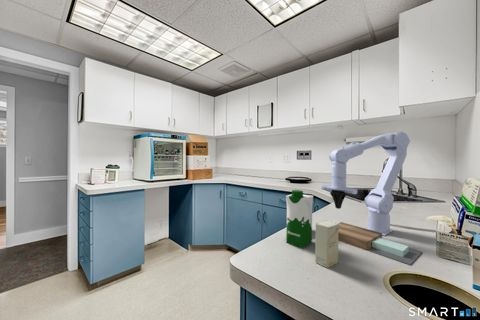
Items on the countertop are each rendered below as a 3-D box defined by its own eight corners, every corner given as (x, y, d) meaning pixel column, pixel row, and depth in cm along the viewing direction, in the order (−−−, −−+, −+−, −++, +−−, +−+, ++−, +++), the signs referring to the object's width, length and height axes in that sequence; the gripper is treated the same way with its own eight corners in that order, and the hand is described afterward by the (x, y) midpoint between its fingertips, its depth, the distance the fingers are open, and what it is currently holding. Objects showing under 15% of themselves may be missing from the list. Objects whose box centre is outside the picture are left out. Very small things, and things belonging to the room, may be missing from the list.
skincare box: (327, 268, 59) (328, 227, 59) (314, 262, 63) (314, 223, 63) (338, 262, 63) (339, 223, 63) (325, 256, 67) (326, 219, 66)
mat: (384, 241, 79) (384, 240, 79) (422, 252, 70) (422, 251, 70) (369, 251, 70) (369, 250, 70) (410, 265, 61) (410, 264, 61)
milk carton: (282, 242, 77) (283, 190, 76) (294, 236, 83) (295, 187, 83) (304, 250, 71) (305, 193, 70) (315, 242, 77) (316, 190, 77)
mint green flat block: (378, 242, 77) (378, 237, 77) (408, 252, 69) (408, 246, 69) (372, 246, 73) (372, 241, 73) (402, 257, 66) (403, 251, 66)
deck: (341, 228, 92) (341, 222, 92) (381, 240, 79) (382, 233, 79) (324, 235, 84) (324, 228, 84) (366, 250, 71) (366, 241, 71)
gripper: (318, 176, 91) (317, 206, 92) (351, 179, 80) (351, 213, 80) (326, 175, 96) (326, 203, 96) (359, 178, 84) (359, 210, 84)
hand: (338, 208), depth 88 cm, fingers closed
